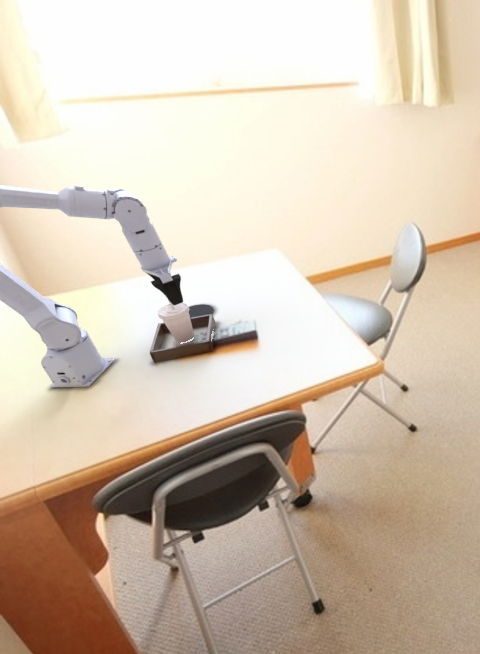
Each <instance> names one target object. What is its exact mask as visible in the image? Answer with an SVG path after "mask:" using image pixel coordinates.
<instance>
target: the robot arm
mask: <svg viewBox="0 0 480 654" xmlns="http://www.w3.org/2000/svg"><path fill="white" fill-rule="evenodd" d="M106 189H107V190H99V189H91V188H84V185H83V184H74V187H73V186H72V187H71V186H66V187H65V188H63V189H61V190H59V191H52V190H51V191H50V190H44V189H36V188H30V187H29V188H28V187H20V186H12V185H5V184H0V209H2V208H16V209H17V208H19V209H20V208H21V209H43V210H59V211H61V212H62V213H64V214H65V215H66V216H68V217H70V218H71V217H73V218H84V219H97V220H112V219H115V221H117V222H118V223H119V225H120V226H121V232H122V234H123V236H124V237H125V240H126V241H127V243H128V245H129V247H130V249H131V251H132V252H133V253H134V256H135V258H136V259H137V261H138V263H139V265H140V269H141V271H142V273H143V272H144V273H145V274H147V275H148V276H149V277H150V278H152V280H151V281H150V284H151V285H152V286H153V287H154V288H155V289H157V290H158V291H160V292H161V293H162V294H163V295H164V296H165V297H166V299H167V298H168V299H167V301H168V300H169V301H170V302H171V303H172V304H173V305H177V304H180V303H184V298H183V297H184V296H183V293H182V289H181V281H182V276H181V274H180V273H176V274H174V275H172V274H171V269H172V266H173V264H174V263H175V262H177V261H178V259H177V257H176V256H175V255H172V256H169V254H168V252H167V250H166V248H165V246H164V244H163V242H162V240H161V238H160V236H159V234H158V232H157V230H156V228H155V226H154V224H153V222H151V221H150V217H149V216H148V212H147V211H148V210H147V207H146V206H144V203H143V202H142V200H141V199H140V198H139V196H137V195H136V194H135V193H134V192H132V191H129V190H125V189H123V188H118V189H111V188H106ZM0 301H1V302H2V303H3V304H5V305H6V306H7V307H9V308H11V309H12V310H13V311H15V312H16V313H18V314H19V315H20V316H21V317H23V318H24V320H25V321H26V322H27V324H28V325H29V326H30V328H31V329H32V330H33V331H35V332H36V333H37V334H38V335H39V336H40V338H41V341H42V342H43V344H44V345H45V346H46V352H45V355H44V356H43V357H42V358H41V361H40V364H41V367H42V368H43V371H44V372H45V373H46V375H47V376H48V377H49V379H50V381H51V382H52V384H50V387H51V388H84V387H85V388H86V387H89V386H91V385H92V384H93V383H94V382H95V381H96V380H97V379H98V378H99V377H100V376H101V375H102V374H103V372H105V371H106V370H107V369H108V368H109V367H110V365H111V364H113V363H114V362H115V359H114V358H102V356H101V354H100V352H99V351H98V348H97V347H96V345H95V343H94V342H93V340H92V338H91V337H90V335H89V333H88V331H87V330H86V329H84V328H82V327H80V326H79V322H78V314H77V312H76V311H75V310H74V309H73V308H71V307H70V306H68V305H64V304H61V303H58V302H56V301H55V300H54V299H52V298H50V297H46V296H44V295H42V294H41V293H40V292H38V291H37V290H36V289H34V288H33V287H32V286H31V285H29V284H28V283H26V282H25V281H24V280H22V278H20V277H19V276H17V275H16V274H15V273H13V272H12V271H11V270H10V269H8V267H6V266H4V265H3V264H1V263H0ZM169 301H168V302H169Z"/></svg>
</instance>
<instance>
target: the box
mask: <svg viewBox="0 0 480 654" xmlns="http://www.w3.org/2000/svg"><path fill="white" fill-rule="evenodd" d="M190 320H191V324H192V328H193V330H194V329H200V328H205V327H207V331H206V336H205V337H206V338H205V340H202V341H198V342H194V343H192V344H187V345H181V346H179V345H177V346H171V347H167V348H162V345H163V342H164V338H165V335H167V334H171V332H170V331H169V329H168V328H167V326H166V325H165V323H164V322H160V323H159V322H158V323H157V327H156V329H155V333H154V337H153V340H152V343H151V347H150V350H149V355H150V357H151V359H152V361H153V363H154V364H157V363H161V362H166V361H171V360H176V359H177V360H178V359H182V358H186V357H192V356H197V355H202V354H207V353H211V352H213V350H214V343H215V342H214V341H215V338H214V339H212V342H211V334H212V331H214V332H215V333H216V325H217V323H216V321H215V317H214V315H213V313H212V314H209V315H204V316H198V317H192V318H190ZM213 329H214V330H213Z"/></svg>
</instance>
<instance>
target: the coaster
mask: <svg viewBox="0 0 480 654" xmlns="http://www.w3.org/2000/svg"><path fill="white" fill-rule="evenodd" d="M188 307H189V315H190V318H192V317H198V316H204V315H209V314H212V315H213V314H214V307H213V306H212V305H210V304H205V303H204V304H202V303H201V304H194V305H190V306H188Z"/></svg>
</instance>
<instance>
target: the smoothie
mask: <svg viewBox="0 0 480 654" xmlns="http://www.w3.org/2000/svg"><path fill="white" fill-rule="evenodd" d="M166 299H167V301H168V303H169V304H166V305H164V306H162V307H160V308H159V309H158V310H157V316H158V318H159V319H160V320H162V323H165V325H166V326H167V328H168V329H169V331H170V332H171V333H170V334H171V336H172V337H173V339H174V340H175V342H176V343H177V342H178V343H177V346H181V345H187V344H192V343H196V337H195V332H194V329H193V328H192V324H191V320H190V315H189V307H190V306H189V305H188V304H187V303H185V302H182V303H180V304H177V305H173V304H172V303H171V302H170V301H169V300H168V298H167V297H166ZM193 337H194V339H193V340H192V341H190V342H187V343H183V344H180V343H181V342H186V341H188V340H190V339H192V338H193Z"/></svg>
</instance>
